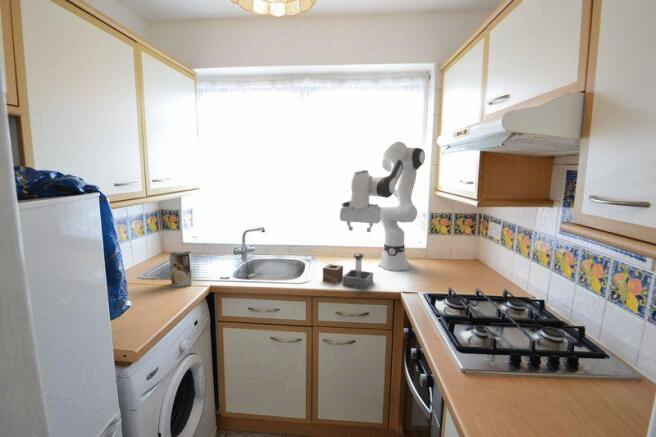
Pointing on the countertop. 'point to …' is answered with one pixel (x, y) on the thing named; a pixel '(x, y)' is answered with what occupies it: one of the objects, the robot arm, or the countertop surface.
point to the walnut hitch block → (333, 273)
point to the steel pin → (358, 265)
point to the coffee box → (181, 269)
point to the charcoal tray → (358, 280)
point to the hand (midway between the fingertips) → (359, 231)
